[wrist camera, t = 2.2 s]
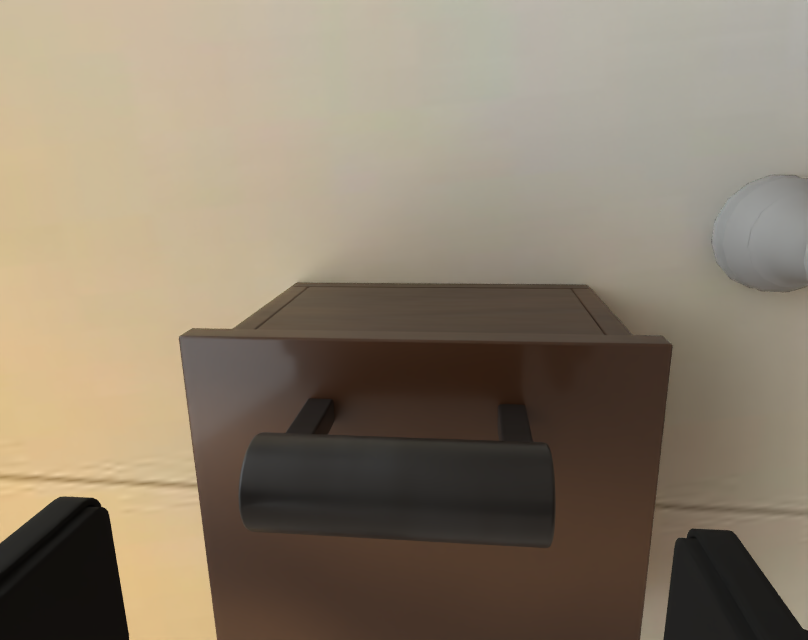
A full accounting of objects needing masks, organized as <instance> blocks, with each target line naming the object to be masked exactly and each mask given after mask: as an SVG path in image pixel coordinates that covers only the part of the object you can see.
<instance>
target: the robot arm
mask: <svg viewBox="0 0 808 640" xmlns="http://www.w3.org/2000/svg"><path fill="white" fill-rule="evenodd" d="M0 640H129V633H128V627H127V621H126V615H125V609H124V603H123V596H122V590H121V584H120V578H119V572H118V566H117V560H116V554H115V548H114V542H113V536H112V530H111V524H110V518H109V514H108V511H107V510H106V509H105V508H103V507H101V504H100V503H99V501H98V500H97V499H94V498H83V497H59V498H57V499H55V500H54V501H53V502H51V503H50V504H49V505H48V506H46V507H45V508H44V509H43V510H41V511H40V512H39V513H38V514H36V515H35V516H34V517H33V518H31V519H30V520H29V521H28V522H26V523H25V524H24V525H23V526H21V527H20V528H19V529H18V530H16V531H15V532H14V533H13V534H11V535H10V536H9V537H8V538H6V539H5V540H4V541H3V542H1V543H0ZM664 640H808V631H807V630H805V629H803V628H802V627H801V625H800V624H799V623H798V621H797V620H796V618H795V617H794V616H793V614H792V613H791V611H790V610H789V609H788V607H787V606H786V604H785V603H784V602H783V600H782V599H781V597H780V596H779V595H778V593H777V592H776V590H775V589H774V588H773V586H772V585H771V583H770V582H769V581H768V579H767V578H766V576H765V575H764V573H763V572H762V571H761V569H760V568H759V566H758V565H757V564H756V562H755V561H754V559H753V558H752V557H751V555H750V554H749V552H748V551H747V550H746V548H745V547H744V545H743V544H742V543H741V541H740V540H739V538H738V537H737V536H736V535H735V534H734V533H733V532H732V531H729V530H709V529H691V530H689V532H688V534H687V538H678V539H677V540H676V542H675V548H674V556H673V565H672V573H671V581H670V590H669V598H668V607H667V615H666V624H665V632H664Z"/></svg>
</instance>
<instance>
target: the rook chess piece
mask: <svg viewBox="0 0 808 640" xmlns="http://www.w3.org/2000/svg"><path fill="white" fill-rule="evenodd" d="M712 246H713V250H714V254H715V258H716V262H717V264H718V265H719V266H720V267H721V268H722V270H723V271H724V272H725V273H726V274H727V275H728V277H729V278H730V279H732V280H734V281H736V282H738V283H741V284H743V285H745V286H747V287H749V288H756V289H758V290H760V291H770V292H790V291H794V290H797V289H800V288H803V287H806V286H808V178H800V177H798V176H794V175H770V176H767V177H764V178H761V179H758V180H755V181H753V182H750V183H747V184H746V185H745V186H744V187H742V188H741V189H740V190H739V191H737V192H736V193H735V194H734V195H732V196H731V197H730V198H729V199H728V200H727V201H726V203H725V205H724V206H723V208H722V209H721V211H720V213H719V214H718V216H717V218H716V219H715V224H714V230H713V236H712Z"/></svg>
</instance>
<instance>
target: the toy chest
mask: <svg viewBox="0 0 808 640" xmlns="http://www.w3.org/2000/svg"><path fill="white" fill-rule="evenodd" d="M233 329H265V330H330V331H394V332H459V333H523V334H588V335H632V334H631V333H630V332H629V330H628V329H627V328H626V327H625V326H624V325H623V324H622V323H621V321H620V320H619V319H618V318H617V317H616V316H615V315H614V314H613V313H612V311H611V310H610V309H609V308H608V307H607V306H606V305H605V304H604V303H603V301H602V300H601V299H600V298H599V297H598V296H597V295H596V294H595V292H594V291H593V290H592V289H591V288H590V287H589V286H588V285H557V284H395V283H296V284H294V285H293V286H291V287H290V288H289V289H287V290H286V291H284V292H283V293H282V294H280V295H279V296H278V297H276V298H275V299H273V300H272V301H271V302H269V303H268V304H266V305H265V306H264V307H262V308H261V309H259V310H258V311H257V312H255V313H254V314H253V315H251V316H250V317H248V318H247V319H246V320H244V321H243V322H241V323H240V324H239V325H237V326H236V327H234V328H233Z"/></svg>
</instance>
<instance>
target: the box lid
mask: <svg viewBox="0 0 808 640" xmlns="http://www.w3.org/2000/svg"><path fill="white" fill-rule="evenodd" d="M179 342H180V350H181V358H182V366H183V374H184V382H185V390H186V398H187V406H188V413H189V421H190V429H191V437H192V445H193V453H194V461H195V469H196V477H197V484H198V492H199V500H200V508H201V516H202V524H203V532H204V540H205V547H206V555H207V563H208V571H209V579H210V587H211V595H212V603H213V611H214V618H215V626H216V634H217V640H640V635H641V626H642V617H643V608H644V599H645V590H646V581H647V572H648V563H649V554H650V545H651V536H652V527H653V518H654V509H655V500H656V491H657V482H658V473H659V464H660V455H661V446H662V437H663V428H664V419H665V410H666V401H667V392H668V384H669V375H670V366H671V357H672V348H673V346H672V344H671V343H670V342H669V341H668V340H667V339H666V338H665V337H663V336H652V335H588V334H523V333H459V332H394V331H330V330H265V329H201V328H192V329H190V330H189V331H187V332H185V333H184V334H182V335H181V336H179Z"/></svg>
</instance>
